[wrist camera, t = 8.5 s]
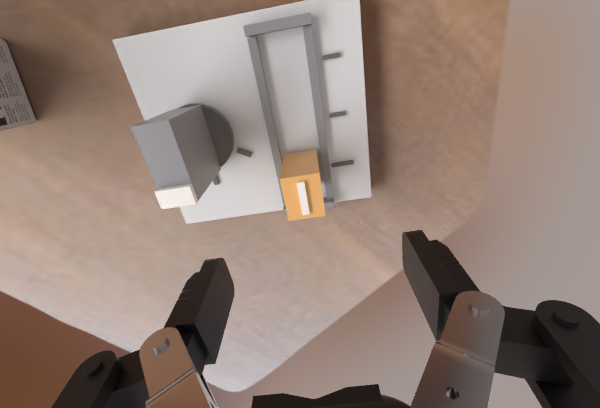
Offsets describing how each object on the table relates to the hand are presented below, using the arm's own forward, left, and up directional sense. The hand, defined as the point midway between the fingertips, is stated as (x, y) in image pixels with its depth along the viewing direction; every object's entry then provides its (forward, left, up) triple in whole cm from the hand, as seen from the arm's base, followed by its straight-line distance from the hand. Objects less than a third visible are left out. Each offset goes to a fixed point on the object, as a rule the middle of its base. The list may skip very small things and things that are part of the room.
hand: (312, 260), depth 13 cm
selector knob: (-4, -8, -13) cm, 15 cm away
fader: (0, 0, -13) cm, 13 cm away
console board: (-4, -3, -14) cm, 15 cm away
